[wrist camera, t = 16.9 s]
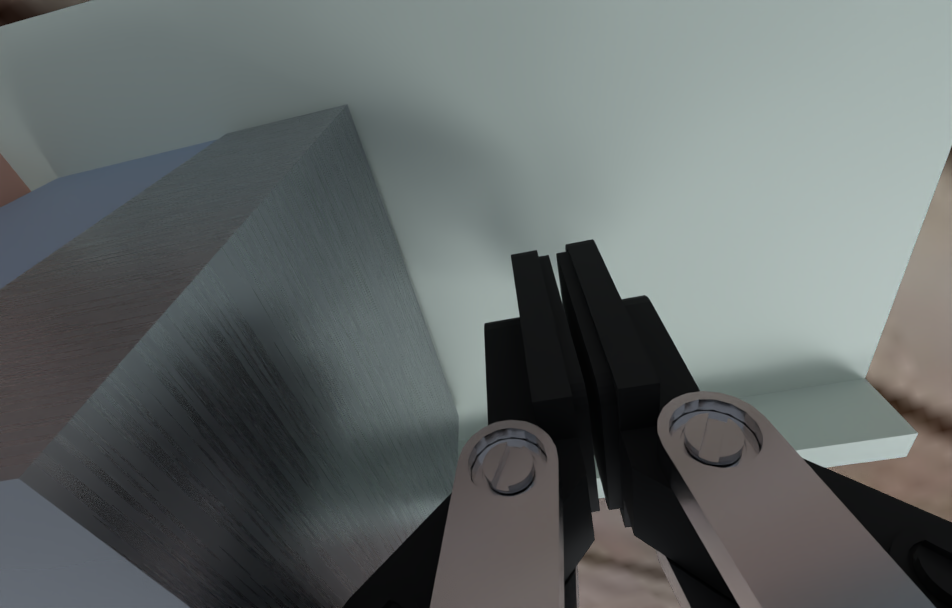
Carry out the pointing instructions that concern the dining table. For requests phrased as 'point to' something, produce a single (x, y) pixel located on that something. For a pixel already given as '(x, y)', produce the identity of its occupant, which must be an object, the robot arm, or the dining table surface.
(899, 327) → the dining table surface
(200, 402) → the bookend
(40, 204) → the book
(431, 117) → the mint u-shaped tray
